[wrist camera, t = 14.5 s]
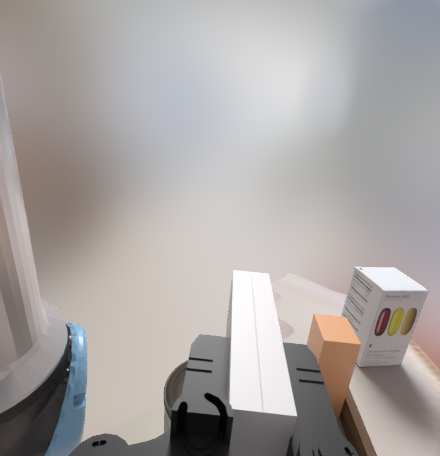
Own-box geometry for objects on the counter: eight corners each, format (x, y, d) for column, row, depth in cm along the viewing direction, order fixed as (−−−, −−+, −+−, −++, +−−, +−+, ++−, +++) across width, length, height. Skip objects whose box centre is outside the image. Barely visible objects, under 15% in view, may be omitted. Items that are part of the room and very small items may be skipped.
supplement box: (358, 368, 58) (382, 290, 53) (334, 335, 67) (352, 265, 61) (403, 365, 60) (430, 290, 54) (373, 333, 69) (395, 265, 63)
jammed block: (305, 416, 47) (324, 340, 42) (297, 383, 52) (313, 313, 47) (338, 419, 47) (361, 344, 42) (327, 387, 52) (346, 317, 47)
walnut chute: (319, 563, 32) (329, 535, 30) (285, 378, 55) (290, 356, 53) (399, 573, 32) (413, 545, 30) (332, 383, 54) (338, 362, 53)
